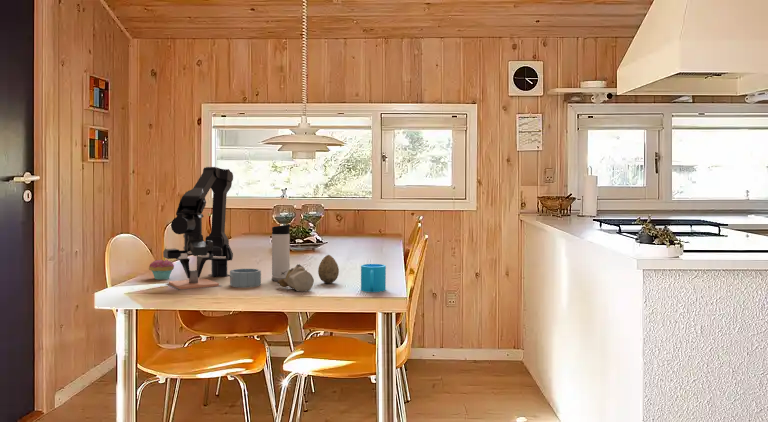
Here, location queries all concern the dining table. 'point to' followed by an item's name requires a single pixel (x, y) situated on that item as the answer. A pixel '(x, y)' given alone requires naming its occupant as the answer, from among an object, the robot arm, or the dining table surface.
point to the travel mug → (280, 252)
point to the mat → (191, 288)
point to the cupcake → (161, 268)
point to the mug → (373, 277)
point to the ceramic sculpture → (297, 279)
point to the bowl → (245, 278)
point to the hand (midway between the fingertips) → (193, 277)
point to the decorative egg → (328, 269)
